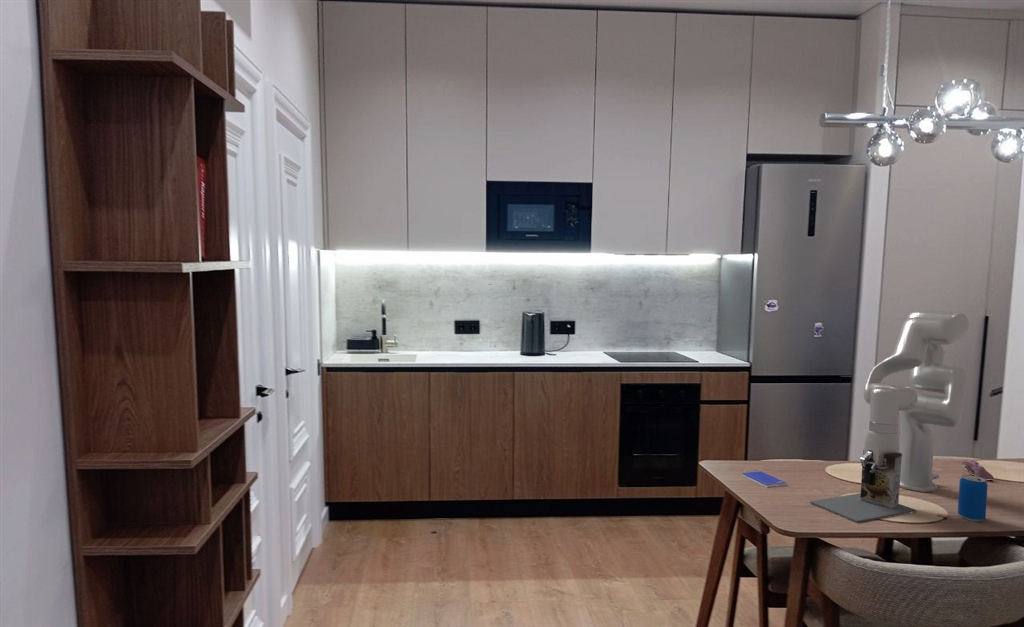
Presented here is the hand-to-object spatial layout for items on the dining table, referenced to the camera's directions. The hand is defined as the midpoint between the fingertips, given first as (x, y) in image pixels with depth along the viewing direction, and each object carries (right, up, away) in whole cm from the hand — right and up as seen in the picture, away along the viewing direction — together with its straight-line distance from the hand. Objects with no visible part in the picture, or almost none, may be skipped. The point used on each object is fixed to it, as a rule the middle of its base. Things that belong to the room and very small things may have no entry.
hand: (880, 482), depth 186 cm
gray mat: (-7, -7, -2) cm, 10 cm away
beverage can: (+21, -8, -9) cm, 24 cm away
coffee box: (0, -7, +1) cm, 7 cm away
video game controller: (+53, -7, +30) cm, 61 cm away
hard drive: (-27, -6, +21) cm, 35 cm away
